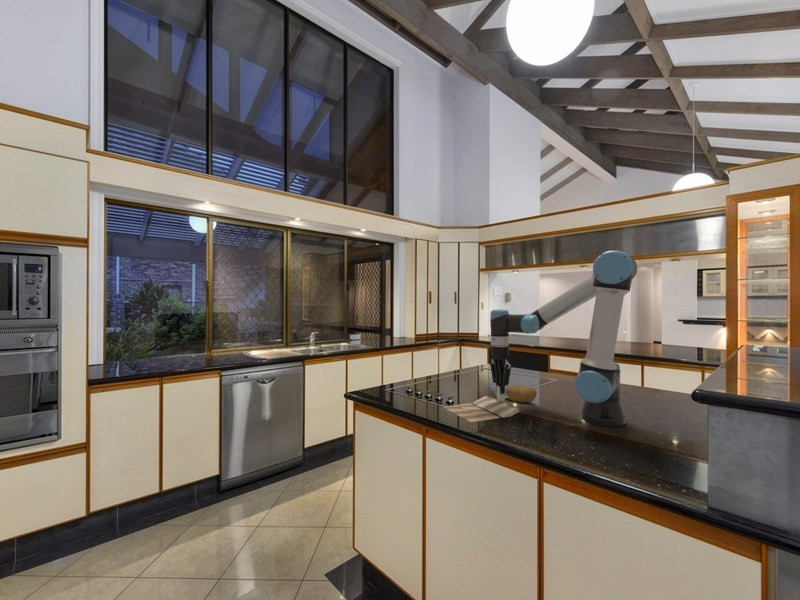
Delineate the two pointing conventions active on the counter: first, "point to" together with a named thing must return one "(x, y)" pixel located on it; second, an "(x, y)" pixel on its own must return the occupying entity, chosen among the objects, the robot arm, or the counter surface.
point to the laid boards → (471, 412)
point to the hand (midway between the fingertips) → (500, 400)
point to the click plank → (496, 406)
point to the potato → (521, 393)
